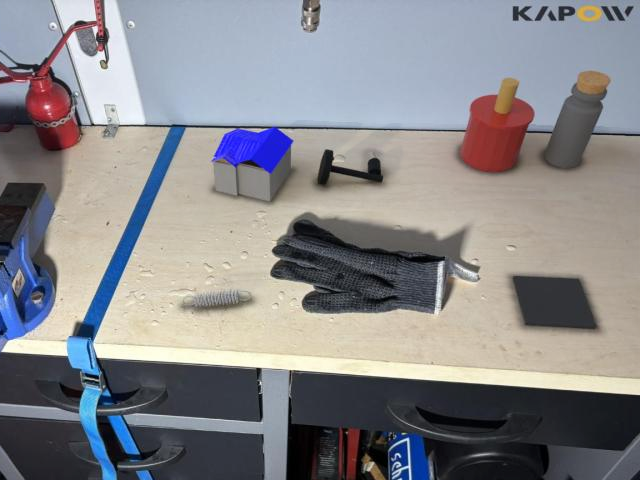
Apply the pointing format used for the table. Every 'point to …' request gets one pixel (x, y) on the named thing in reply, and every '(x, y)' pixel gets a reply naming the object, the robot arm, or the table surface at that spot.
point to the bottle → (577, 120)
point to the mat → (553, 302)
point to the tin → (491, 146)
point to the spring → (217, 298)
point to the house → (252, 162)
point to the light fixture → (327, 167)
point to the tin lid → (503, 108)
